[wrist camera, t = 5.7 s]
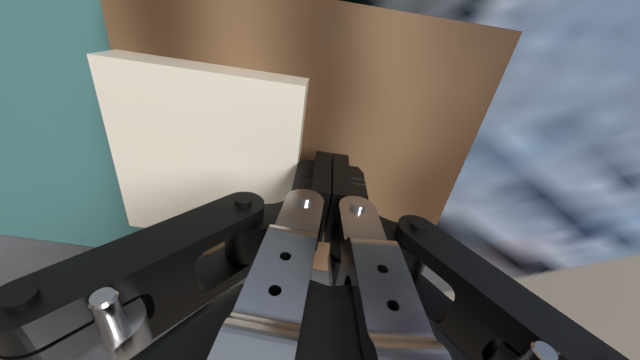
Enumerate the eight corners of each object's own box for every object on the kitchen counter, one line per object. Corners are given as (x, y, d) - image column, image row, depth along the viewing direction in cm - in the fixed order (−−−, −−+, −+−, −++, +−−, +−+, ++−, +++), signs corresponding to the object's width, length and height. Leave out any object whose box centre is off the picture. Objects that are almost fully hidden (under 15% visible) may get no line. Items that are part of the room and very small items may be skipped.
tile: (147, 207, 16) (129, 225, 14) (115, 49, 12) (86, 53, 10) (292, 226, 16) (288, 246, 15) (309, 78, 12) (305, 86, 11)
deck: (171, 221, 19) (150, 247, 17) (133, -32, 12) (91, -42, 10) (402, 253, 20) (410, 282, 18) (490, 28, 13) (522, 31, 11)
